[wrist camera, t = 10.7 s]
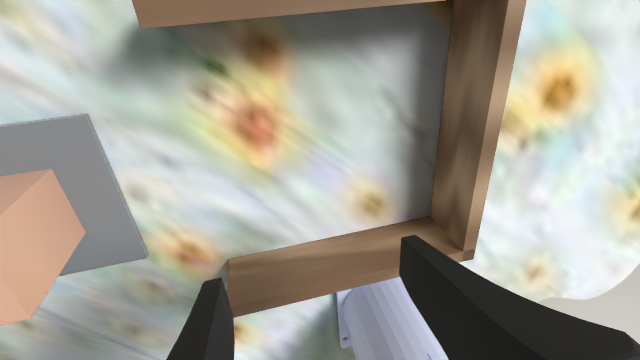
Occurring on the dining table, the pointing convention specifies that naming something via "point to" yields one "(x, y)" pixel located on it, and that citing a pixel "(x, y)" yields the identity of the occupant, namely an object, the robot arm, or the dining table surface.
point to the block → (33, 240)
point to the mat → (77, 185)
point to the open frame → (451, 164)
